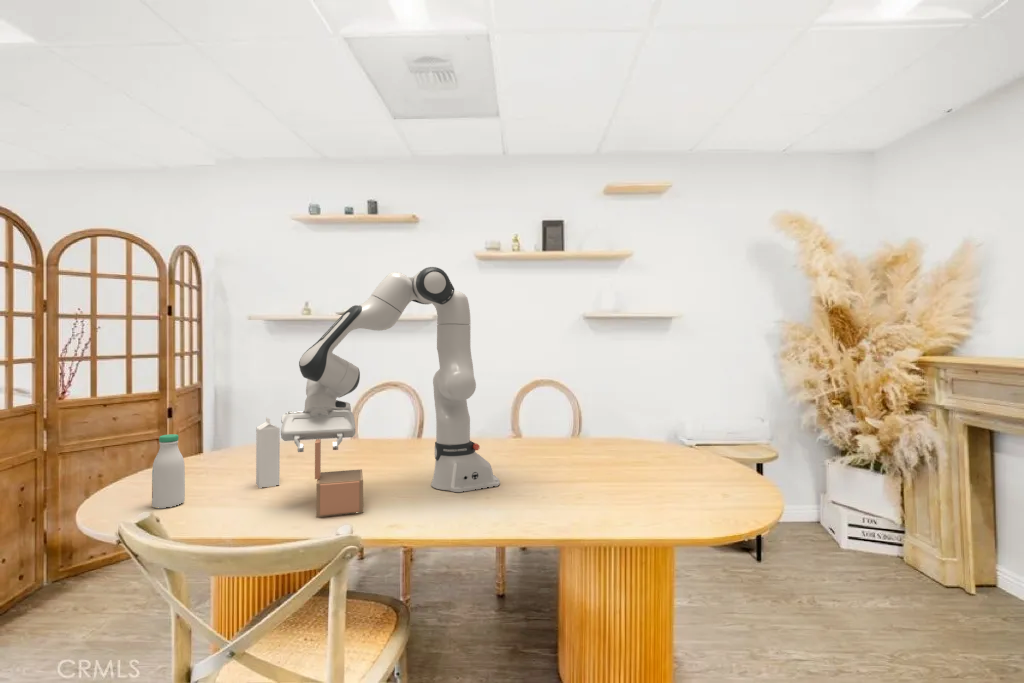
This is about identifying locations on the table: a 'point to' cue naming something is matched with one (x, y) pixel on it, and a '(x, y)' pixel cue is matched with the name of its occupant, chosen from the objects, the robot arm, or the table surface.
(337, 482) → the carton
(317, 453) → the flap
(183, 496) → the milk bottle
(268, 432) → the milk
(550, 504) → the table surface
